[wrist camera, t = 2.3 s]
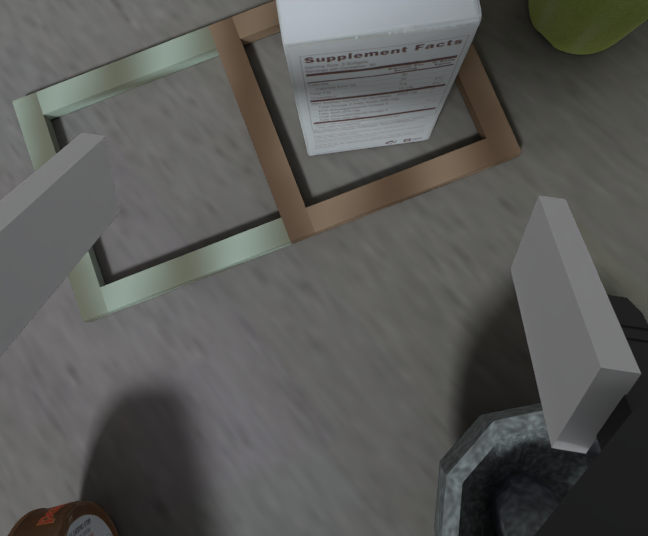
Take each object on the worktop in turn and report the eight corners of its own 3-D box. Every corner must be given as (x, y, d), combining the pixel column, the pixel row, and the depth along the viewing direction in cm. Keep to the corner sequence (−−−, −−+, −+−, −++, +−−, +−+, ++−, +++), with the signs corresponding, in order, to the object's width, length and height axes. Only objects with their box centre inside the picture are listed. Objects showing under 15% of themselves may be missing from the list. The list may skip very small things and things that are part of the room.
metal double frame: (425, -49, 32) (426, -59, 32) (517, 157, 31) (521, 152, 30) (20, 106, 32) (12, 101, 31) (90, 321, 31) (83, 321, 30)
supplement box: (292, 42, 32) (256, -143, 19) (414, 27, 32) (459, -172, 19) (305, 160, 31) (277, 45, 18) (431, 144, 31) (489, 18, 18)
